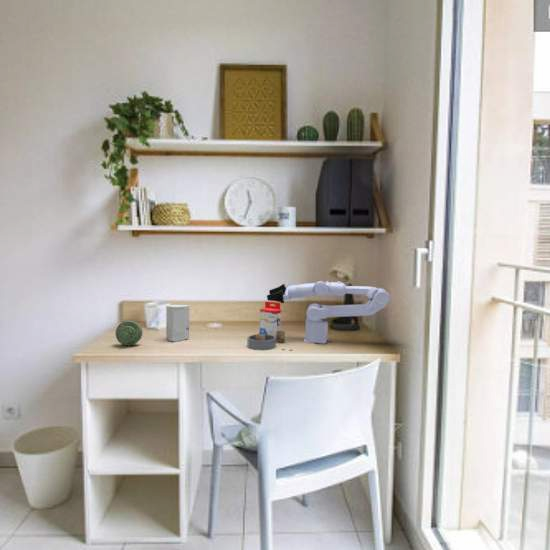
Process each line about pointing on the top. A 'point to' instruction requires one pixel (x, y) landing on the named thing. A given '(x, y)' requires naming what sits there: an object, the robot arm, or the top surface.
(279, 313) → the ink box
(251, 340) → the charcoal cup
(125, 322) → the decorative artifact
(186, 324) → the skincare box
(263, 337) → the walnut peg in cup
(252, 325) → the top surface
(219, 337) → the top surface
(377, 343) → the top surface
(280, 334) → the loose walnut peg
